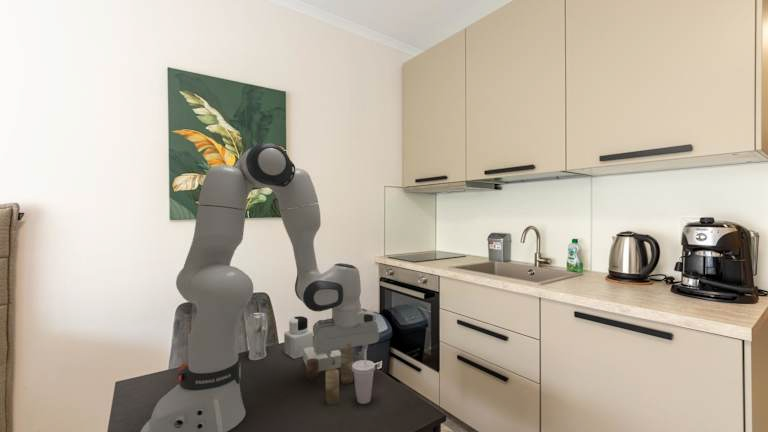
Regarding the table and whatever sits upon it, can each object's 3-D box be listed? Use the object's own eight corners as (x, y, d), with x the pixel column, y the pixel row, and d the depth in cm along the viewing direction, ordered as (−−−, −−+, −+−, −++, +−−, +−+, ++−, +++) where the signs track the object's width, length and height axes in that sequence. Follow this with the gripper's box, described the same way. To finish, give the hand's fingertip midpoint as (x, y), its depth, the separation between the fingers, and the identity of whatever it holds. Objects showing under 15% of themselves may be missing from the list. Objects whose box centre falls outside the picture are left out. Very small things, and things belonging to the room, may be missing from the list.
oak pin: (327, 406, 89) (327, 376, 89) (324, 399, 92) (324, 370, 92) (340, 403, 90) (340, 373, 90) (337, 396, 94) (336, 368, 94)
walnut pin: (308, 380, 103) (308, 364, 103) (305, 375, 106) (305, 359, 106) (319, 378, 104) (319, 362, 104) (317, 373, 107) (317, 357, 107)
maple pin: (343, 384, 100) (342, 344, 100) (339, 379, 103) (339, 340, 103) (354, 382, 101) (354, 342, 101) (350, 377, 105) (350, 338, 105)
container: (302, 347, 128) (302, 313, 128) (313, 353, 123) (313, 318, 123) (284, 353, 123) (283, 317, 123) (294, 359, 117) (293, 322, 117)
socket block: (309, 373, 107) (309, 361, 107) (303, 359, 117) (303, 348, 117) (342, 366, 112) (342, 354, 112) (333, 354, 122) (333, 343, 122)
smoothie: (372, 407, 88) (372, 354, 88) (349, 405, 89) (348, 353, 89) (377, 394, 94) (377, 345, 94) (355, 392, 95) (355, 343, 95)
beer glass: (255, 362, 115) (254, 319, 115) (243, 358, 119) (242, 316, 119) (271, 355, 121) (271, 314, 121) (259, 351, 125) (259, 311, 125)
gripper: (315, 324, 95) (315, 372, 95) (380, 314, 103) (381, 359, 104) (310, 318, 101) (311, 363, 101) (373, 309, 109) (373, 351, 109)
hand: (347, 361), depth 102 cm, fingers open, 8 cm apart
